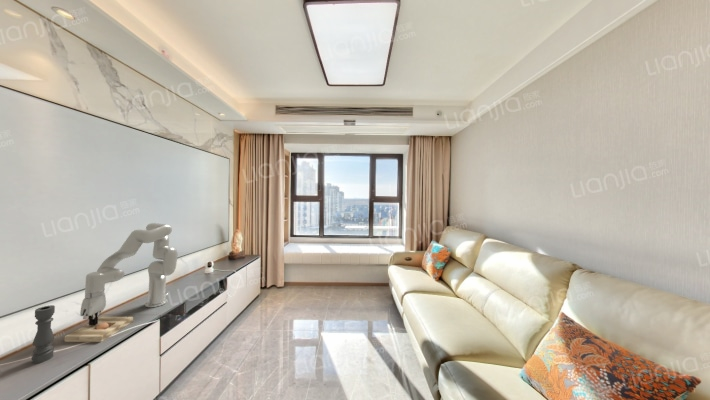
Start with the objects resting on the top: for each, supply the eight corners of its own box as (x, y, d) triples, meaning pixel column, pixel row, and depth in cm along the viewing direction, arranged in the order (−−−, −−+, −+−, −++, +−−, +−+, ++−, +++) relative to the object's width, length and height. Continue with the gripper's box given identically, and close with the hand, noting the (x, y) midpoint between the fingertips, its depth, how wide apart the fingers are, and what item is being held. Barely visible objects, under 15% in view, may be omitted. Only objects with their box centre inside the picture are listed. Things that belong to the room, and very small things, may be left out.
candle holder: (42, 363, 108) (45, 311, 108) (26, 364, 107) (29, 311, 107) (57, 354, 114) (59, 305, 114) (42, 354, 113) (44, 305, 113)
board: (101, 321, 143) (101, 316, 143) (132, 321, 145) (133, 316, 145) (64, 341, 123) (64, 336, 123) (101, 341, 125) (101, 336, 125)
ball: (110, 320, 136) (111, 329, 135) (103, 321, 136) (104, 330, 136) (100, 324, 131) (101, 333, 130) (93, 325, 131) (93, 334, 131)
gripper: (100, 288, 140) (99, 317, 140) (73, 299, 125) (71, 332, 126) (114, 288, 141) (112, 317, 141) (88, 299, 126) (86, 332, 126)
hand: (93, 324), depth 133 cm, fingers closed
